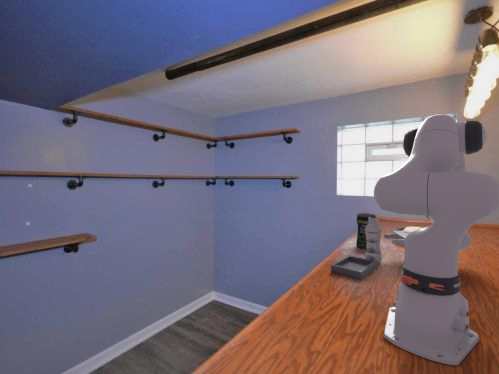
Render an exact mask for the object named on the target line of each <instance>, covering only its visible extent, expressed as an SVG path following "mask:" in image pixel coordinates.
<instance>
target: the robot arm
mask: <svg viewBox="0 0 499 374" xmlns="http://www.w3.org/2000/svg"><path fill="white" fill-rule="evenodd" d="M487 137H488V136H487V132H486V129H485V127H484V125H483V124H482V122H480V121H478V120H465V121H456V120H455V118H453V117H452V116H450V115H448V114H445V113H444V114H443V113H442V114H441V113H439V114H433V115H430V116H428V117H427V118H425V119H424V120H423V121H422V123H420V125H419V126H418V127H415V128H412V129H409V130H408V131H407V132H405V133H404V136H403V139H402V148H403V151H404V153H405V155H406V156H407V157H409V158H408V159H407V161H405V162H404V164H403V165H402V166H400V167H399V168H397V169H395V170H394V171H393V172H391V173H388V174H385V175H382V177H380V178H379V179H378V180H377V182H376V183H375V186H374V189H373V198H374V201H375V203H376V204H377V206H378V207H379V208H380V209H381V210H383V211H387V212H389V213H390V212H391V213H395V214H399V215H411V216H412V215H413V216H425V217H426V218H427V219H428V220H429V221H430V222H431V223H432V224H430V225H428V226H425V227H422V228H418V229H416V230H413V231H410V230H409V231H407V230H392V231H391V233H384V235H383V237H384V238H385V239H388V240H390V239H391V243H392V244H394V245H401V246H404V251H403V252H404V253H403V254H404V255H403V256H404V258H403V260H404V261H403V262H404V264H403V265H402V269H401V281H400V282H399V283H397V294H396V300H394V301H393V303H392V304H393V306H391V307H388V313H387V315H386V316H387V317H386V322H385V326H384V332H383V338H385V340H387V341H389V342H390V343H391V344H393V345H394V346H396V347H399V348H401V349H402V350H404V351H406V352H409V353H411V354H413V355H416V356H418V357H421V358H424V359H427V360H429V361H433V362H436V363H440V364H444V365H450V366H458V365H460V363H461V362H462V361H463V360H464V359H465V358H466V356H467V355H468V354H469V353H470V352H471V351H472V349H473V348H474V347H475V346H476V345H477V343H478V342H479V341H480V337H479V334H478V333H477V332H475V331H473V330H472V329H470V323H469V317H470V316H469V301H468V300H467V299H466V298H465V296H463V295H462V293H461V292H460V290H461V284H462V283H461V281H462V279H461V275H460V273H458V271H459V269H458V268H459V265H458V264H459V254H460V251H465V250H467V249H469V248H470V247H471V244H472V237H471V235H470V234H469V232H468V231H469V230H470V228H472V227H473V226H474V225H475V224H477V223H478V222H480V221H482V220H483V219H485V218H487V217H489V216H491V215H493V214H494V213H495V212H496V211H497V210H498V209H499V182H498V181H497V180H496V179H495V178H494V177H493V176H491V175H490V174H486V173H480V172H479V173H478V172H469V171H466V163H465V162H466V160H465V159H466V158H465V155H472V154H475V153H478V152H480V151H481V150H482V149H483V147H484V145H485V143H486V141H487Z"/></svg>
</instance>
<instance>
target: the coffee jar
mask: <svg viewBox="0 0 499 374" xmlns="http://www.w3.org/2000/svg"><path fill="white" fill-rule="evenodd" d="M369 217H377V216H376V214H374V213H368V212H367V213H366V212H365V213H364V212H360V213H358V214H357V215H356V223H357V236H356V242H355V243H356V245H355V246H356V247H357V248H359V249H363V250H366V247H367V241H366V233H365V228H366V226H367V225H368V224H369V222H368V220H369Z"/></svg>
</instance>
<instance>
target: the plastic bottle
mask: <svg viewBox="0 0 499 374" xmlns="http://www.w3.org/2000/svg"><path fill="white" fill-rule="evenodd" d="M368 222H369V224H368V225H367V226H366V228H365V233H366V241H367V247H366V249H365V250H366V251H365V255H364V257H365V259H370V260H375V261H377V264H380V263H381V262H382V260H383V257H382V256H383V255H382V252H381V251H382V250H381V249H382V248H381V236H382V227H381V226H380V224H379V218H378V217H377V216H376V217H369V220H368Z"/></svg>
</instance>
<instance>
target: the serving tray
mask: <svg viewBox="0 0 499 374" xmlns="http://www.w3.org/2000/svg"><path fill="white" fill-rule="evenodd" d="M377 269H378V263H377V261H375V260H370V259H366V257H365V258H364V257H360V256H356V255H355V256H354V255H350V254H349V255H346V256H345V257H342V259H340V260H337V261H336V262H334V263H332V264H331V265H330V272H331V273H333V274H336V275H340V276H344V277H347V278H351V279H356V280H359V281H363V279H365V278H366V277H368V276H369V275H370V274H371V273H373V272H374V271H376V270H377Z"/></svg>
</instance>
